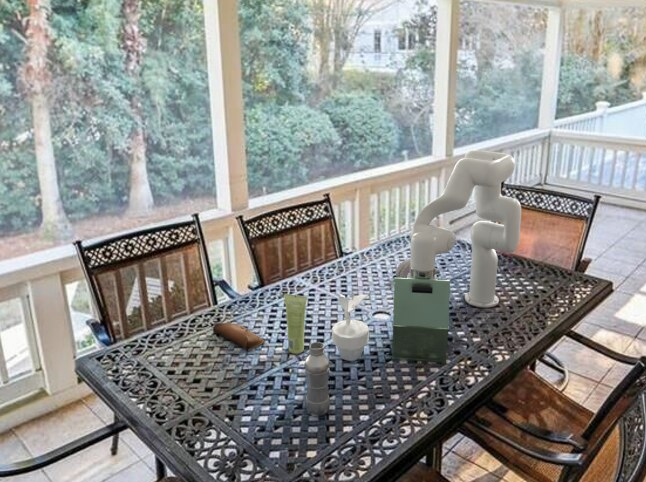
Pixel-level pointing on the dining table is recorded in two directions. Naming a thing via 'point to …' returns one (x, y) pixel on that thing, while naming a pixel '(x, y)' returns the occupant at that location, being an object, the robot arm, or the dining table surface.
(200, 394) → the dining table surface
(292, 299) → the tube
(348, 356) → the potted plant
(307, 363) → the plastic bottle
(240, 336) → the sunglasses case
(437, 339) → the green storage bin
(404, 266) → the sea urchin shell
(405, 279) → the bin lid
